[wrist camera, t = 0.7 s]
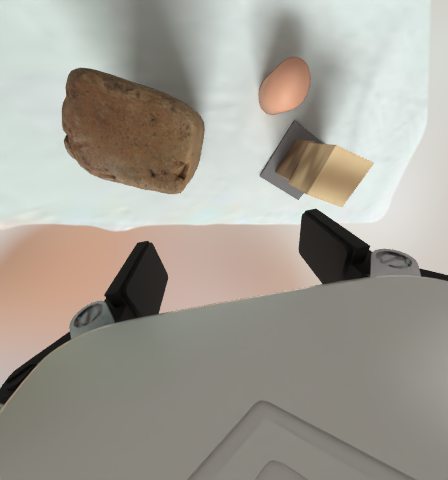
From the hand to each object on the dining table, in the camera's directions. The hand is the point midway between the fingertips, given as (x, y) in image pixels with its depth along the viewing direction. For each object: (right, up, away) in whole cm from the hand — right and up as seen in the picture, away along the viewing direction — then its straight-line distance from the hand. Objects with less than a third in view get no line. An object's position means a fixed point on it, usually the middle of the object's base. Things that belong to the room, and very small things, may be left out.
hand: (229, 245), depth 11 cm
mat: (+13, +15, +21) cm, 29 cm away
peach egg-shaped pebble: (+8, +23, +16) cm, 29 cm away
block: (-9, +18, +17) cm, 27 cm away
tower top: (+14, +11, +16) cm, 24 cm away
